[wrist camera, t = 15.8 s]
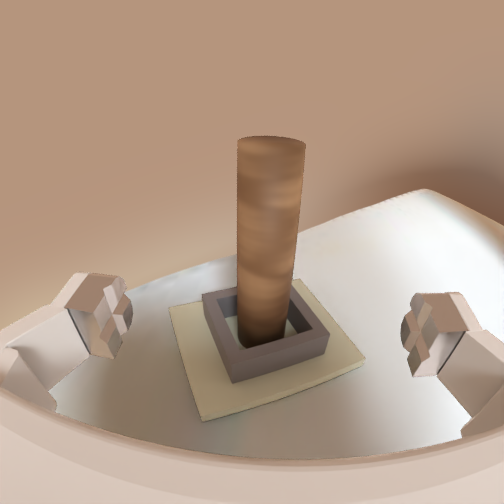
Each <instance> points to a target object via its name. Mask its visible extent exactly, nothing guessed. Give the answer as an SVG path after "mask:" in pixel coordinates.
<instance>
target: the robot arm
mask: <svg viewBox="0 0 504 504" xmlns="http://www.w3.org/2000/svg"><path fill="white" fill-rule="evenodd" d="M125 291H126V284H125V281H124V279H123V278H121V277H120V276H112V275H104V274H97V273H88V272H77V273H75V274H74V275H73V276H72V278H71V279H70V280H69V281H68V282H67V284H66V285H65V286H64V287H63V289H62V290H61V291H60V292H59V294H58V295H57V296H56V298H55V299H54V301H53V302H52V303H51V304H50V305H45V306H43V307H41V308H39V309H37V310H35V311H34V312H32V313H31V314H28V315H27V316H25V317H23V318H21V319H20V320H18V321H16V322H14V323H13V324H11V325H9V326H7V327H6V328H4V329H2V330H1V331H0V504H504V343H503V342H502V341H500V340H499V339H498V338H496V337H495V336H494V335H493V334H491V333H490V332H489V331H487V330H482V328H481V326H480V324H479V322H478V321H477V319H476V317H475V315H474V314H473V312H472V310H471V308H470V307H469V305H468V303H467V302H466V300H465V298H464V297H463V295H462V294H460V293H459V292H447V293H416V294H415V295H414V296H413V298H412V300H411V302H410V306H411V309H412V310H411V311H410V312H409V313H407V314H406V315H405V317H404V319H403V322H402V324H401V333H400V334H401V341H402V344H403V347H404V348H405V349H406V350H407V351H408V352H410V353H409V356H408V358H407V360H408V364H409V367H410V370H411V373H412V377H422V376H434V375H437V378H438V379H439V380H440V381H441V382H442V383H443V384H444V386H445V387H446V388H447V389H448V390H449V391H450V392H451V394H452V395H453V396H454V397H455V398H456V399H457V401H458V402H459V403H460V404H461V405H462V406H463V408H464V409H465V410H466V411H467V412H468V413H469V415H470V416H471V417H472V419H471V420H469V421H468V422H467V423H466V424H465V425H464V426H463V428H462V429H461V435H462V438H460V439H457V440H453V441H449V442H445V443H441V444H436V445H432V446H427V447H422V448H417V449H412V450H406V451H400V452H393V453H387V454H379V455H370V456H361V457H349V458H333V459H267V458H251V457H239V456H229V455H220V454H212V453H205V452H198V451H192V450H186V449H181V448H175V447H170V446H165V445H160V444H156V443H151V442H147V441H143V440H139V439H135V438H131V437H127V436H124V435H120V434H117V433H113V432H110V431H107V430H103V429H100V428H97V427H94V426H91V425H88V424H85V423H82V422H80V421H77V420H74V419H71V418H69V417H66V416H64V415H61V414H59V413H56V412H55V410H56V407H57V403H56V401H55V399H54V398H53V397H52V396H51V395H50V393H49V392H48V391H49V390H50V389H51V388H52V387H54V386H55V385H56V384H57V383H58V382H60V381H61V380H62V379H63V378H64V377H65V376H67V375H68V374H69V373H70V372H71V371H73V370H74V369H75V368H76V367H77V366H79V365H80V364H81V363H82V362H83V361H85V360H86V359H87V358H88V357H89V356H90V355H95V356H100V357H105V358H110V359H115V357H116V354H117V352H118V350H119V348H120V346H121V344H122V339H121V335H122V334H124V333H125V332H127V331H128V329H129V327H130V325H131V322H132V316H133V311H132V304H131V301H130V299H129V298H128V297H127V296H126V295H125V294H124V292H125Z"/></svg>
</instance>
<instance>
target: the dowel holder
mask: <svg viewBox="0 0 504 504" xmlns="http://www.w3.org/2000/svg"><path fill="white" fill-rule="evenodd" d="M169 312H170V316H171V320H172V324H173V328H174V332H175V335H176V339H177V343H178V346H179V350H180V353H181V357H182V360H183V364H184V367H185V370H186V374H187V377H188V380H189V383H190V387H191V390H192V393H193V396H194V399H195V402H196V405H197V408H198V411H199V414H200V417H201V420H202V422H204V421H208V420H212V419H216V418H219V417H223V416H227V415H230V414H234V413H237V412H241V411H244V410H247V409H251V408H254V407H257V406H260V405H263V404H266V403H269V402H272V401H275V400H278V399H281V398H284V397H287V396H289V395H292V394H295V393H298V392H300V391H303V390H306V389H308V388H311V387H313V386H316V385H318V384H321V383H323V382H326V381H328V380H331V379H333V378H335V377H338V376H340V375H342V374H345V373H347V372H349V371H351V370H354V369H356V368H358V367H360V366H362V365H363V363H364V361H365V359H366V358H365V357H364V356H363V355H362V354H361V352H360V351H359V350H358V349H357V347H356V346H355V345H354V344H353V342H352V341H351V340H350V339H349V338H348V336H347V335H346V334H345V333H344V331H343V330H342V329H341V328H340V327H339V325H338V324H337V323H336V322H335V320H334V319H333V318H332V317H331V316H330V314H329V313H328V312H327V311H326V310H325V308H324V307H323V306H322V305H321V304H320V302H319V301H318V300H317V299H316V298H315V296H314V295H313V294H312V293H311V292H310V290H309V289H308V288H307V287H306V286H305V284H304V283H303V282H302V281H301V280H300V279H296V280H292V284H291V292H290V299H289V307H288V314H287V321H286V328H285V335H284V338H283V339H280V340H276V341H273V342H270V343H266V344H263V345H259V346H256V347H252V348H248V349H246V348H245V347H243V346H242V345H241V343H240V342H239V340H238V323H237V287H234V288H230V289H225V290H220V291H216V292H211V293H206V294H202V301H199V302H194V303H189V304H184V305H179V306H174V307H170V308H169Z"/></svg>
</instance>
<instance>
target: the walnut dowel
mask: <svg viewBox="0 0 504 504" xmlns="http://www.w3.org/2000/svg"><path fill="white" fill-rule="evenodd" d="M305 148H306V144H305V143H304V142H302V141H299V140H296V139H291V138H286V137H276V136H252V137H245V138H241V139H239V140H238V149H237V151H238V152H237V153H238V154H237V157H238V158H237V323H238V340H239V342H240V343H241V345H242V346H243V347H245V348H246V349H248V348H252V347H256V346H259V345H263V344H266V343H270V342H273V341H276V340H280V339H283V338H284V335H285V328H286V321H287V314H288V307H289V299H290V292H291V284H292V276H293V268H294V259H295V251H296V242H297V233H298V223H299V214H300V204H301V193H302V183H303V172H304V160H305Z"/></svg>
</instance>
